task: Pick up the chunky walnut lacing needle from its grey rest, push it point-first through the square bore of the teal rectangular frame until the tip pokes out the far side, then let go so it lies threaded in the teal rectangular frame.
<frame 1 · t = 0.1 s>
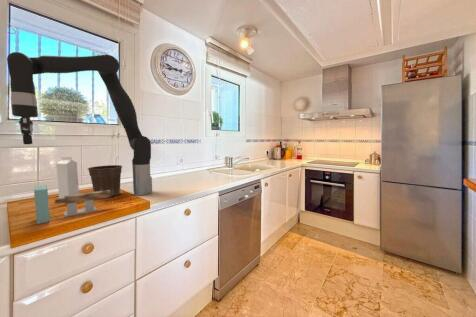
hand: (28, 144, 87), 29 cm above the table, tool pointing down, fingers open, 8 cm apart
plant pot: (107, 195, 116), on the table
needle: (88, 199, 90), point 5 cm above the table, touching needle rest
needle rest: (89, 210, 91), on the table
milk: (69, 198, 111), on the table
teal rectangular frame: (43, 219, 81), on the table
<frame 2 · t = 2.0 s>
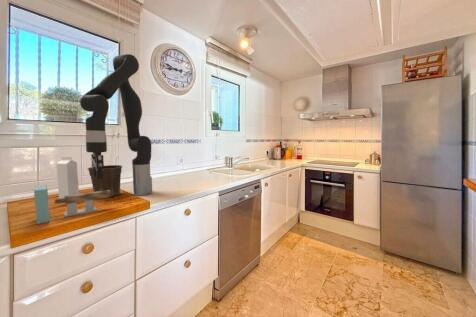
hand: (98, 177, 92), 14 cm above the table, tool pointing down, fingers open, 8 cm apart
nothing on the table moved.
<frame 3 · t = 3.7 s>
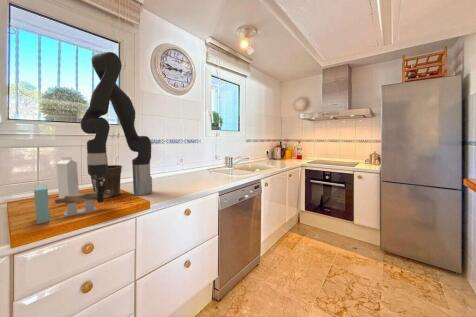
hand: (99, 201, 93), 4 cm above the table, tool pointing down, fingers closed on needle, 2 cm apart
needle: (88, 199, 90), point 5 cm above the table, touching gripper, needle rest
everything else where it was.
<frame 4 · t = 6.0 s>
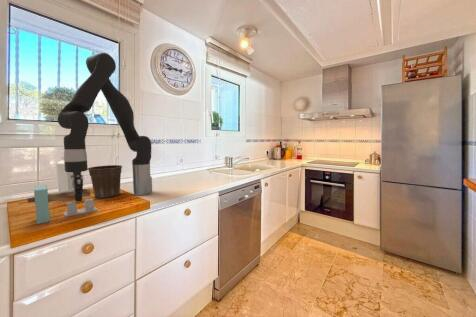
hand: (78, 200, 88), 5 cm above the table, tool pointing down, fingers closed on needle, 2 cm apart
needle: (66, 198, 85), point 7 cm above the table, touching gripper
everything else where it was.
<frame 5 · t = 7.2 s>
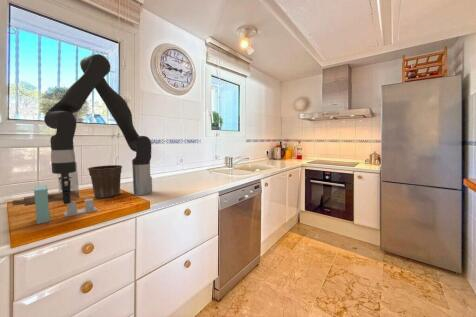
hand: (66, 202, 85), 5 cm above the table, tool pointing down, fingers closed on needle, 2 cm apart
needle: (53, 200, 82), point 7 cm above the table, touching gripper
everything else where it was.
when the fingers open (5 cm above the table, at t = 8.2 s): needle drops 2 cm, resting on teal rectangular frame, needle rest.
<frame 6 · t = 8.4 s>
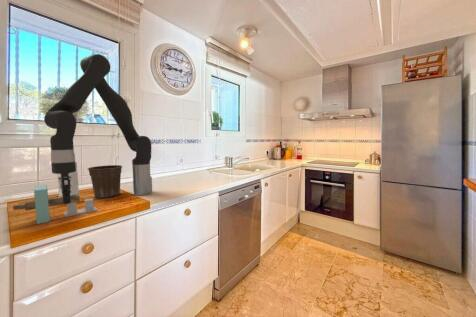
hand: (66, 201, 85), 6 cm above the table, tool pointing down, fingers open, 4 cm apart
needle: (54, 205, 83), point 5 cm above the table, touching teal rectangular frame, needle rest
everything else where it was.
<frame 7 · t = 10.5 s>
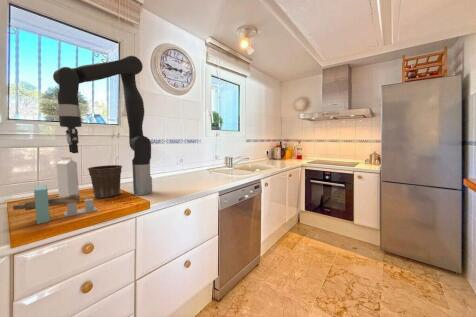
hand: (73, 152, 92), 25 cm above the table, tool pointing down, fingers open, 8 cm apart
nothing on the table moved.
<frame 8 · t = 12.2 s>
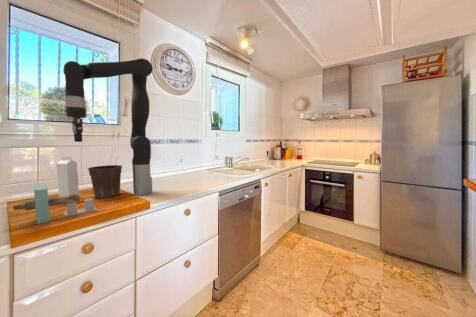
hand: (78, 141, 98), 30 cm above the table, tool pointing down, fingers open, 8 cm apart
nothing on the table moved.
at the end: needle 1.6 cm from the target spot on the teal rectangular frame, point 5.0 cm above the teal rectangular frame's base; the gripper is holding nothing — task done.
